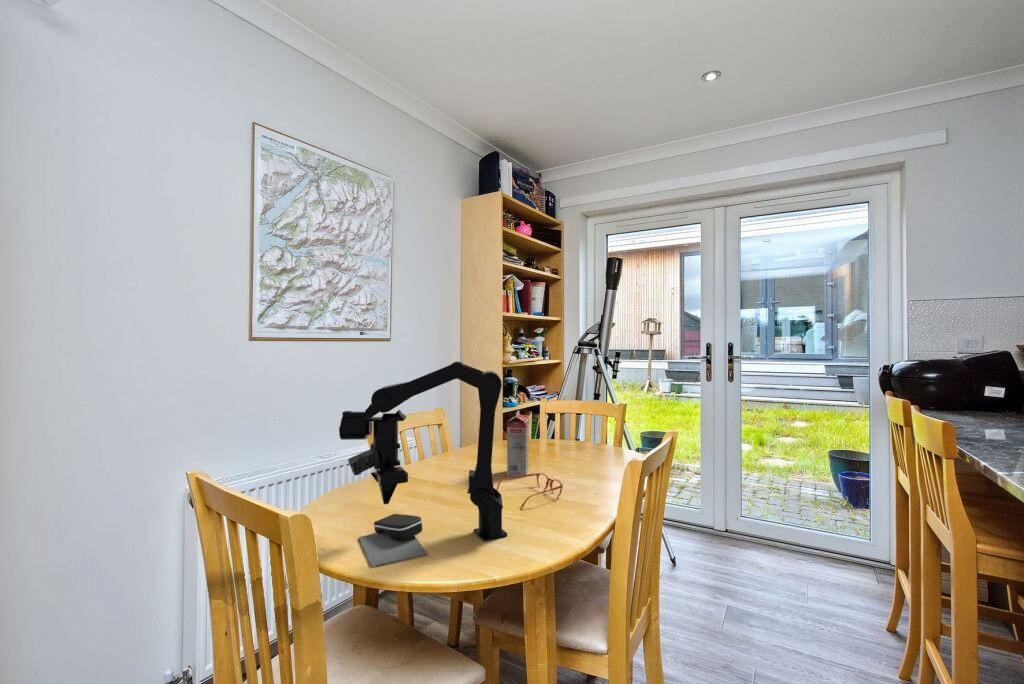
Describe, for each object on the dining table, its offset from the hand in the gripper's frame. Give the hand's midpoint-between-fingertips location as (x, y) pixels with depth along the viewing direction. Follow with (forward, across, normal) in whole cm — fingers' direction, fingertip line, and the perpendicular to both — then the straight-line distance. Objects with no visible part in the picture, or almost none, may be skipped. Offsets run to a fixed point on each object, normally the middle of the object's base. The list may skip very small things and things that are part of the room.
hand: (385, 503), depth 113 cm
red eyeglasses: (+9, -10, +45) cm, 47 cm away
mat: (+8, +6, 0) cm, 10 cm away
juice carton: (+8, -32, +53) cm, 62 cm away
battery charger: (+7, -4, 0) cm, 8 cm away
